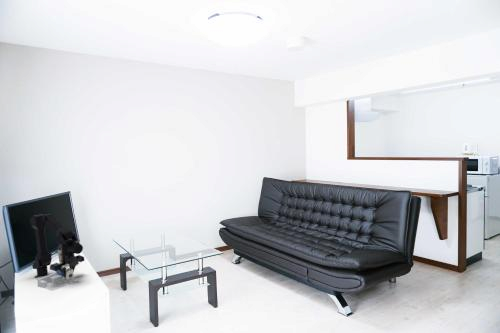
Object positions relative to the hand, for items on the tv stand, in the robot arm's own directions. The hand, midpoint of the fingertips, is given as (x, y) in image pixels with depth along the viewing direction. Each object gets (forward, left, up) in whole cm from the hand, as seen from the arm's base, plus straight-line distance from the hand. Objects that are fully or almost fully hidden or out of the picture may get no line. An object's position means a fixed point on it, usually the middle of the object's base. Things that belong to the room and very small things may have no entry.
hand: (68, 276), depth 204 cm
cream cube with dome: (-2, 0, 0) cm, 2 cm away
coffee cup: (-27, +16, -4) cm, 32 cm away
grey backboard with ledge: (-2, -4, -4) cm, 6 cm away
